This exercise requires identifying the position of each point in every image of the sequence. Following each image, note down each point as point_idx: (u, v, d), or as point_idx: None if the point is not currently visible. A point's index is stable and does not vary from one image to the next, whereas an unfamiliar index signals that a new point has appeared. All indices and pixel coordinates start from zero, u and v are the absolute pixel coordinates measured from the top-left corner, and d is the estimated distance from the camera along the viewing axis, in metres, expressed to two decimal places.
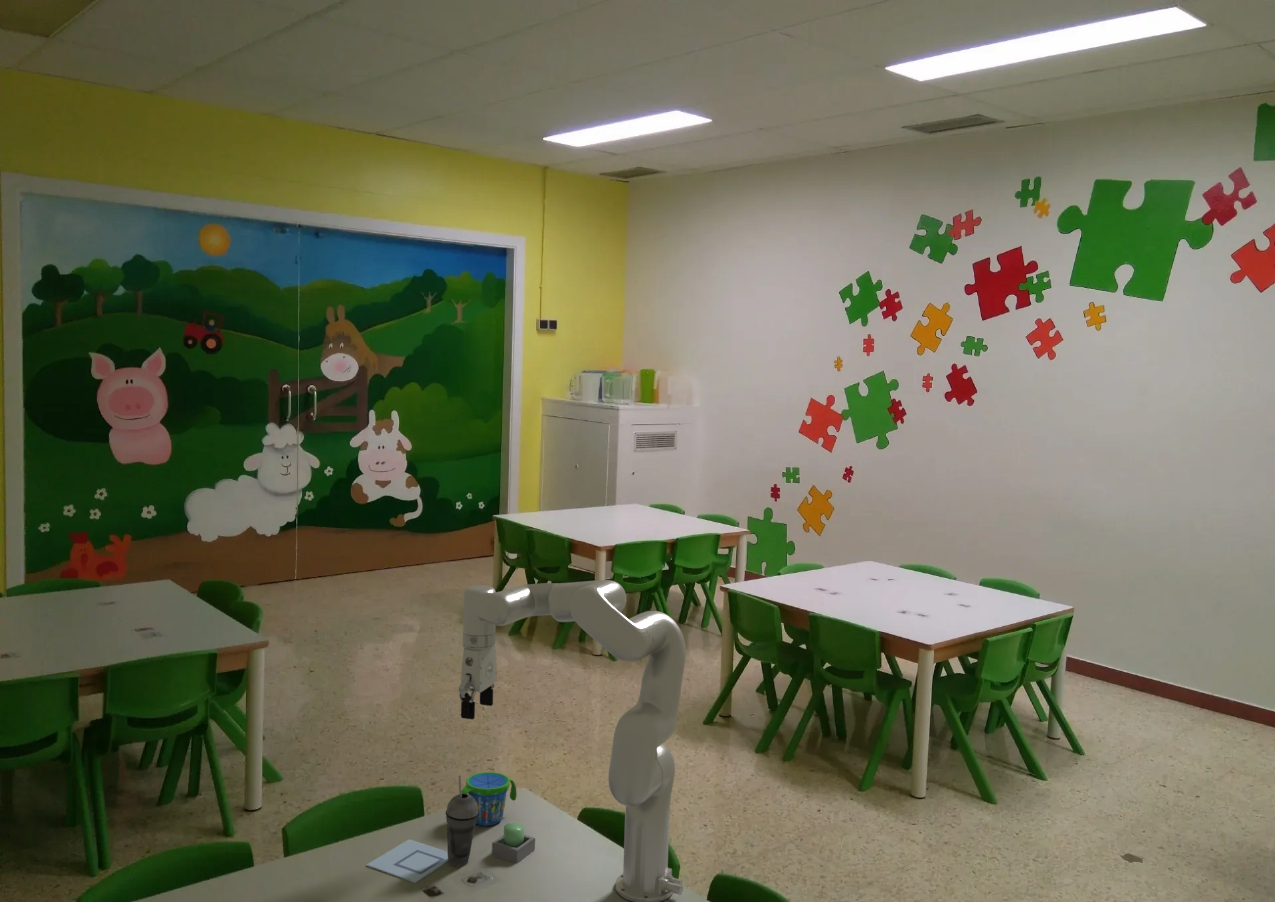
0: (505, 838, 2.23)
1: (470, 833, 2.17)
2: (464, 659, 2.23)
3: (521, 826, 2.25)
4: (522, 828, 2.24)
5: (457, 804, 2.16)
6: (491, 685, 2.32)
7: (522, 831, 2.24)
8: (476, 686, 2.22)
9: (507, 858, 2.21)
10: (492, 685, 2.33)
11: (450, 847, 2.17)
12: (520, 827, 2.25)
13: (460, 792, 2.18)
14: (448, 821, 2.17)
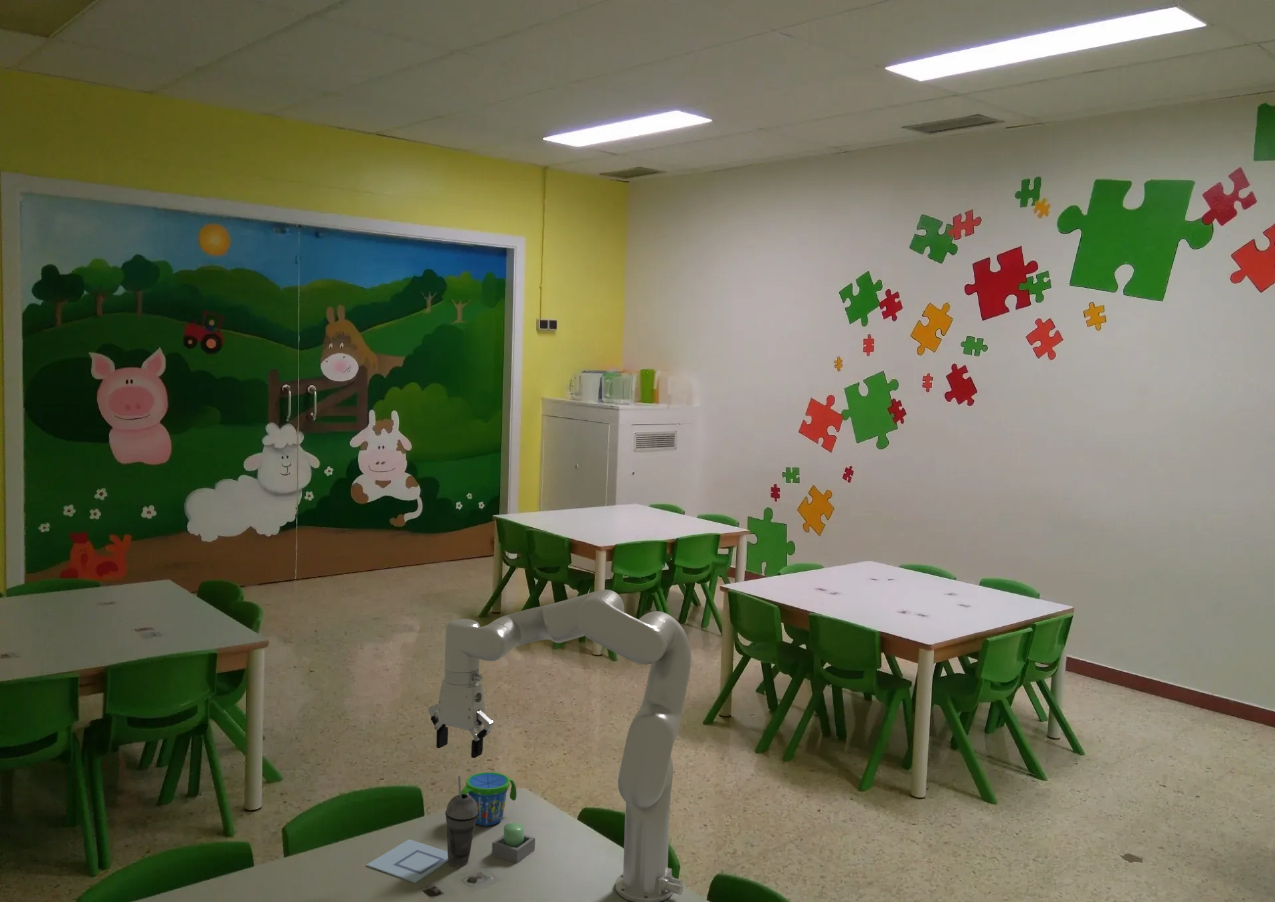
0: (505, 838, 2.23)
1: (470, 833, 2.17)
2: (473, 697, 2.13)
3: (521, 826, 2.25)
4: (522, 828, 2.24)
5: (457, 804, 2.16)
6: None
7: (522, 831, 2.24)
8: None
9: (507, 858, 2.21)
10: (444, 723, 2.21)
11: (450, 847, 2.17)
12: (520, 827, 2.25)
13: (460, 792, 2.18)
14: (448, 822, 2.16)
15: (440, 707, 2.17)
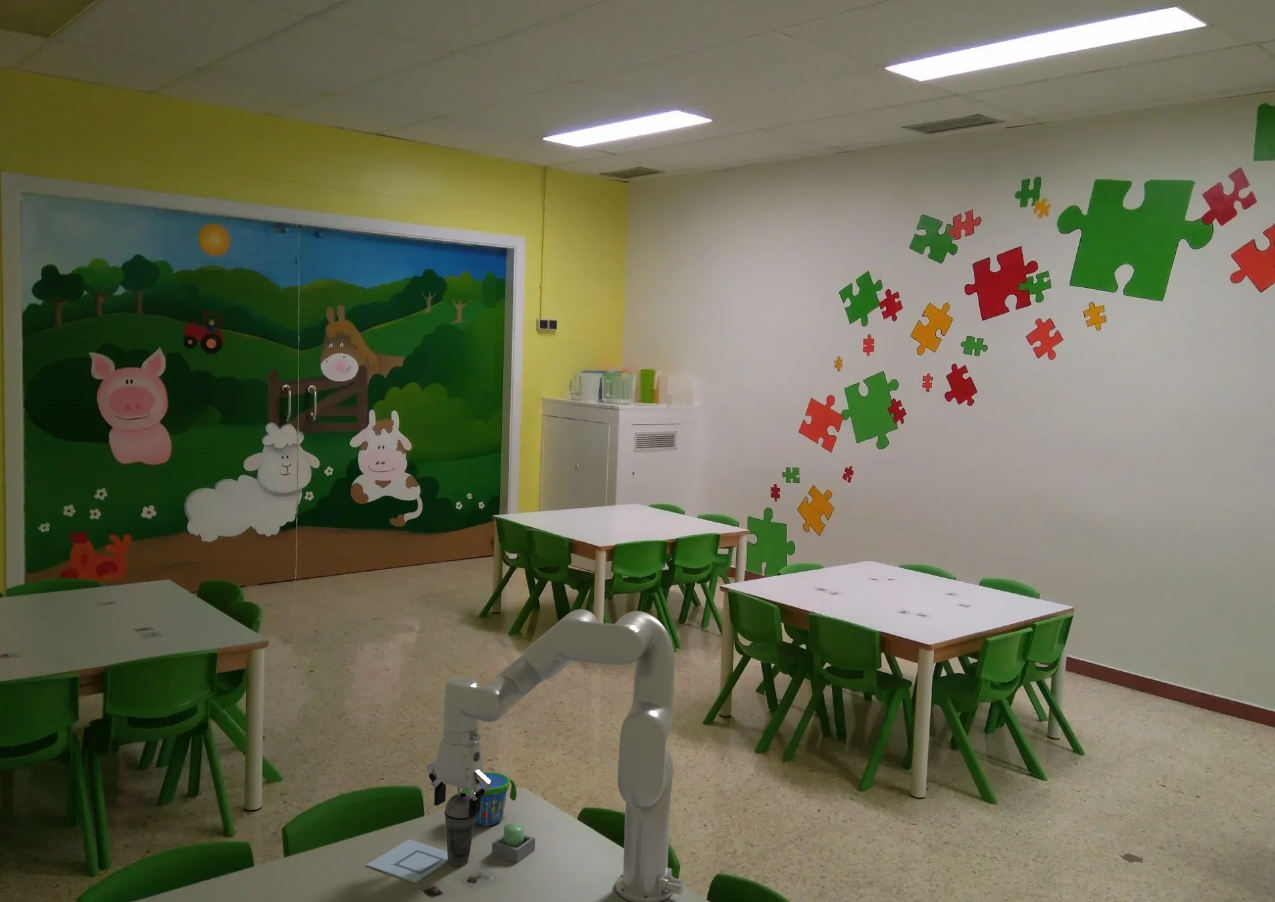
0: (505, 838, 2.23)
1: (469, 832, 2.18)
2: (472, 757, 2.15)
3: (521, 826, 2.25)
4: (522, 828, 2.24)
5: (456, 803, 2.16)
6: None
7: (522, 831, 2.24)
8: None
9: (507, 858, 2.21)
10: None
11: (449, 847, 2.17)
12: (520, 827, 2.25)
13: (458, 791, 2.18)
14: (447, 821, 2.17)
15: (438, 765, 2.18)
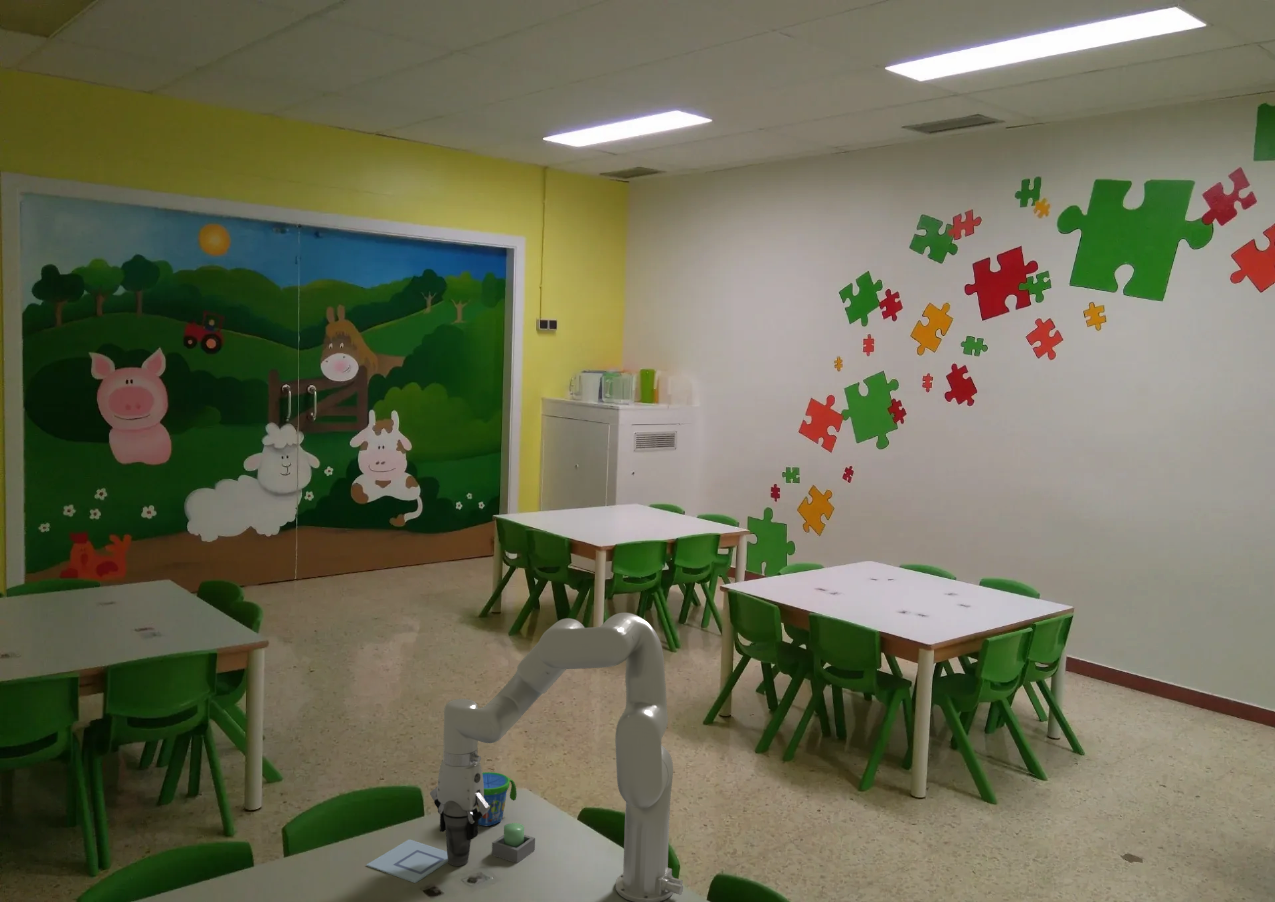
0: (505, 838, 2.23)
1: None
2: (472, 778, 2.15)
3: (521, 826, 2.25)
4: (522, 828, 2.24)
5: (453, 802, 2.16)
6: None
7: (522, 831, 2.24)
8: None
9: (507, 858, 2.21)
10: None
11: (449, 846, 2.17)
12: (520, 827, 2.25)
13: None
14: (445, 820, 2.17)
15: (439, 787, 2.18)
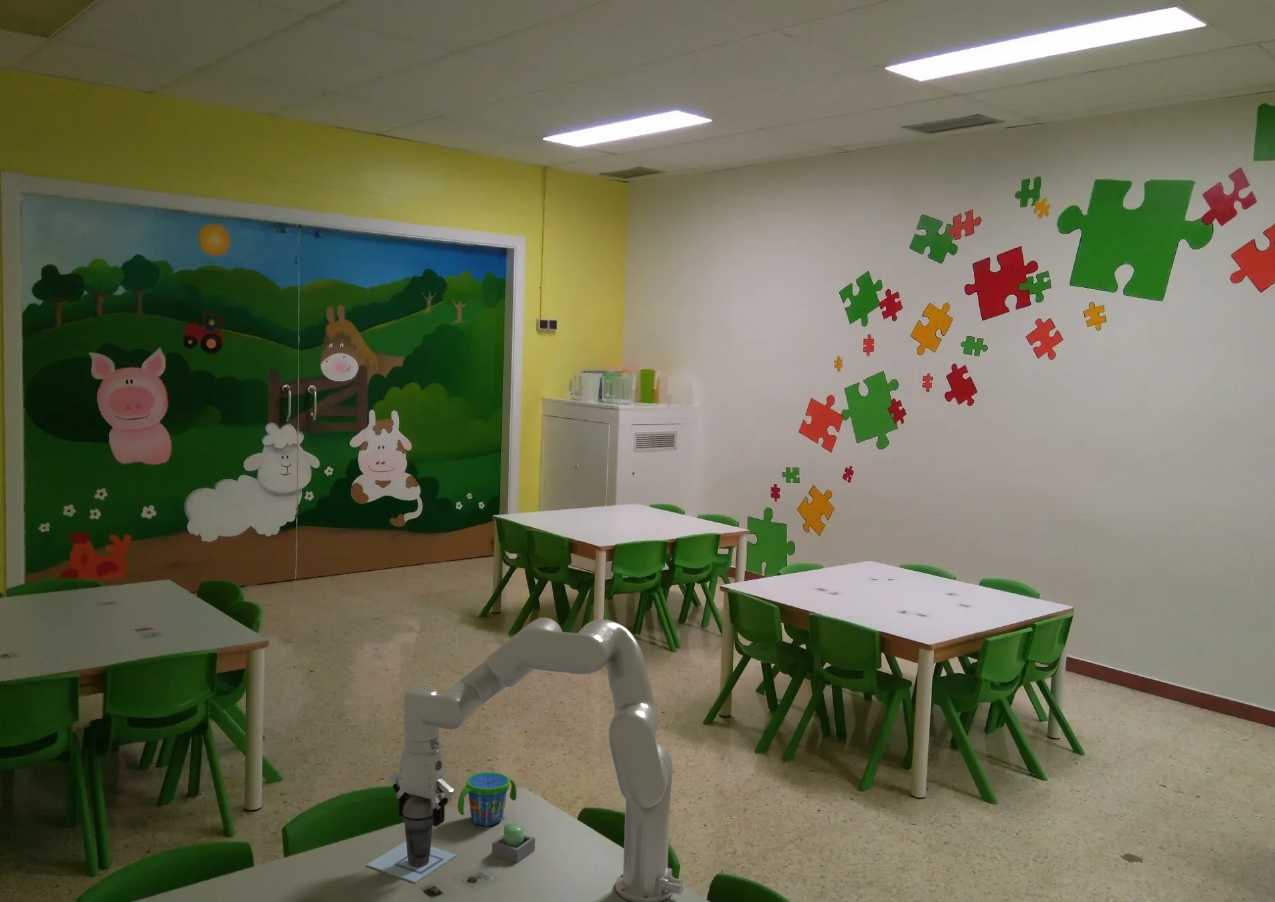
0: (505, 838, 2.23)
1: (428, 833, 2.16)
2: (433, 766, 2.13)
3: (521, 826, 2.25)
4: (522, 828, 2.24)
5: (412, 804, 2.15)
6: None
7: (522, 831, 2.24)
8: None
9: (507, 858, 2.21)
10: None
11: (409, 848, 2.16)
12: (520, 827, 2.25)
13: None
14: (405, 822, 2.15)
15: (401, 775, 2.17)
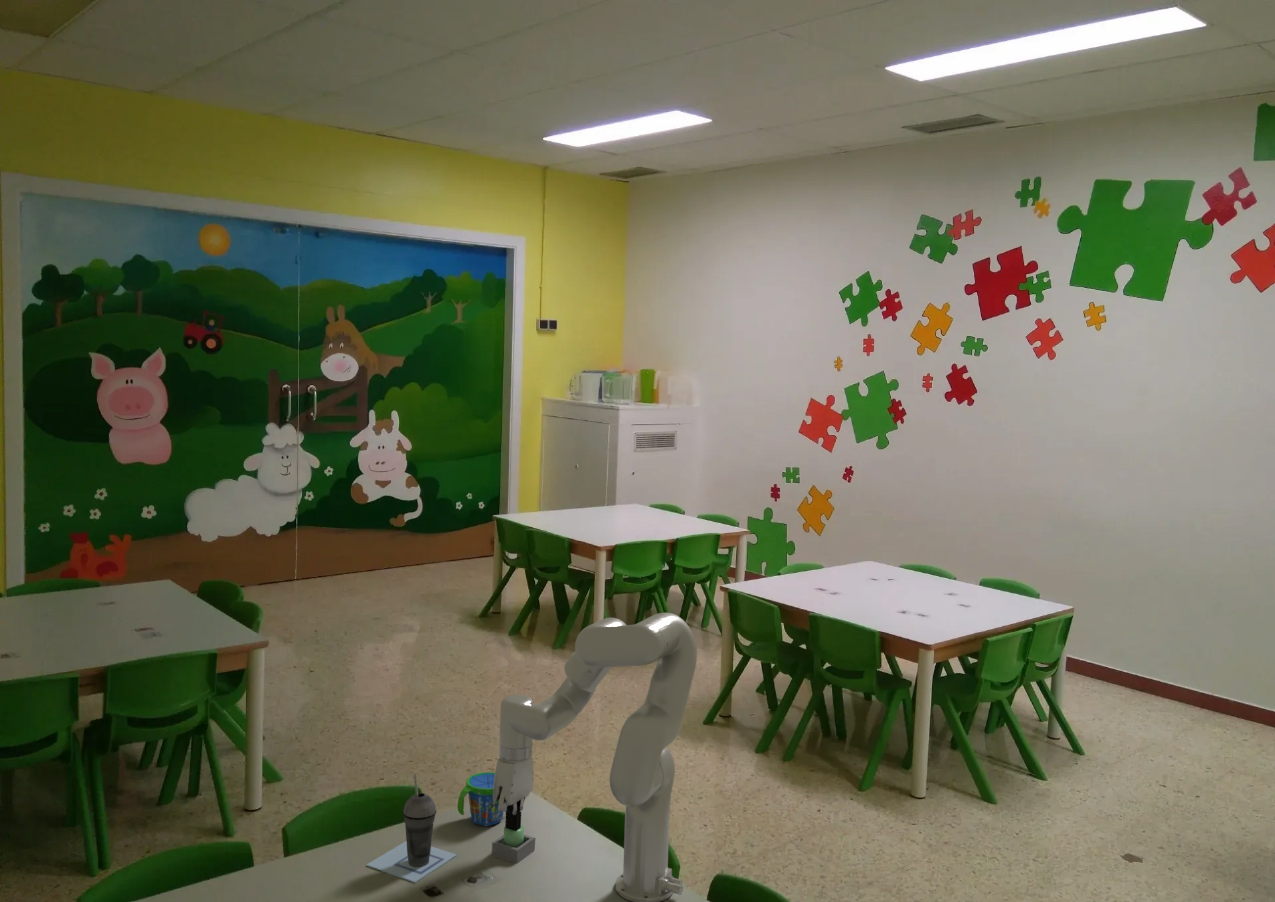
0: (505, 839, 2.23)
1: (428, 832, 2.16)
2: None
3: (521, 827, 2.25)
4: (522, 829, 2.24)
5: (413, 803, 2.15)
6: None
7: (522, 832, 2.24)
8: None
9: (507, 858, 2.21)
10: None
11: (409, 847, 2.16)
12: (520, 828, 2.25)
13: (416, 791, 2.17)
14: (405, 821, 2.16)
15: (512, 790, 2.19)
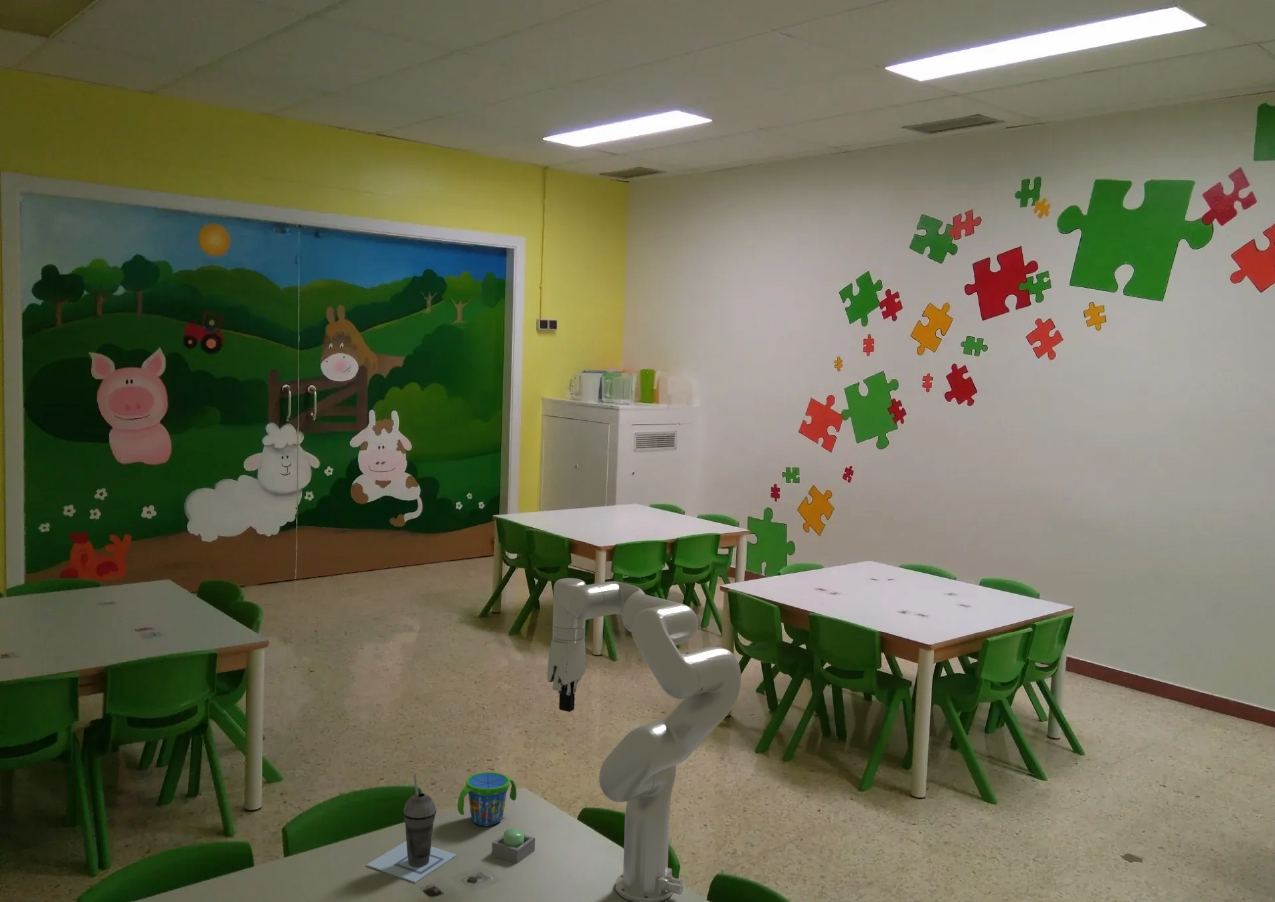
0: (505, 844, 2.23)
1: (428, 832, 2.16)
2: None
3: (521, 832, 2.25)
4: (522, 834, 2.24)
5: (413, 803, 2.15)
6: None
7: (522, 837, 2.24)
8: None
9: (507, 858, 2.21)
10: None
11: (409, 847, 2.16)
12: (520, 832, 2.25)
13: (416, 791, 2.17)
14: (405, 821, 2.16)
15: (566, 669, 2.23)
